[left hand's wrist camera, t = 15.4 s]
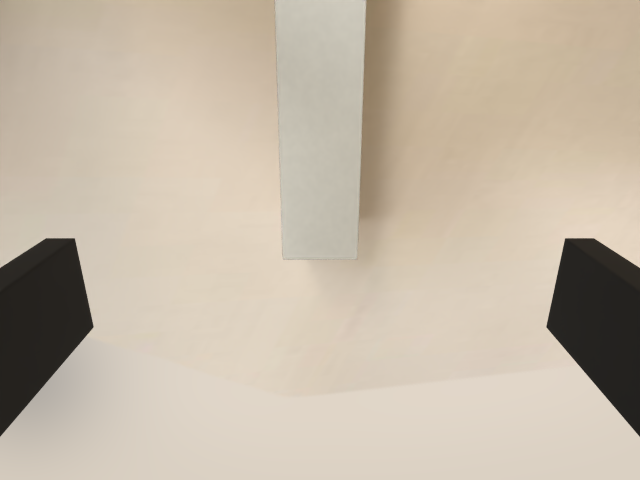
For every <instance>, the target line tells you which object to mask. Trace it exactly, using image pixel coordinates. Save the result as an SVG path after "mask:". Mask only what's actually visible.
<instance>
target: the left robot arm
mask: <svg viewBox="0 0 640 480" xmlns="http://www.w3.org/2000/svg"><path fill="white" fill-rule="evenodd" d="M92 328H93V322H92V317H91V313H90V308H89V303H88V299H87V294H86V289H85V284H84V280H83V275H82V270H81V266H80V261H79V256H78V252H77V247H76V242H75V238H46V239H45V240H43V241H41V242H40V243H38V244H37V245H35V246H34V247H32V248H31V249H29V250H27V251H26V252H24V253H23V254H21V255H20V256H18V257H17V258H15V259H14V260H12V261H10V262H9V263H7V264H6V265H4V266H3V267H1V268H0V436H1V435H2V434H3V433H4V432H5V430H6V429H7V428H8V427H9V426H10V424H11V423H12V422H13V421H14V420H15V419H16V417H17V416H18V415H19V414H20V413H21V412H22V410H23V409H24V408H25V407H26V406H27V405H28V403H29V402H30V401H31V400H32V399H33V398H34V396H35V395H36V394H37V393H38V392H39V391H40V389H41V388H42V387H43V386H44V385H45V383H46V382H47V381H48V380H49V379H50V378H51V376H52V375H53V374H54V373H55V372H56V371H57V369H58V368H59V367H60V366H61V365H62V364H63V362H64V361H65V360H66V359H67V358H68V357H69V355H70V354H71V353H72V352H73V351H74V349H75V348H76V347H77V346H78V345H79V344H80V342H81V341H82V340H83V339H84V338H85V337H86V335H87V334H88V333H89V332H90V331H91V330H92ZM547 328H548V330H549V331H550V332H551V333H552V334H553V335H554V337H555V338H556V339H557V340H558V341H559V342H560V344H561V345H562V346H563V347H564V348H565V349H566V351H567V352H568V353H569V354H570V355H571V357H572V358H573V359H574V360H575V361H576V362H577V364H578V365H579V366H580V367H581V368H582V369H583V371H584V372H585V373H586V374H587V375H588V376H589V378H590V379H591V380H592V381H593V382H594V383H595V385H596V386H597V387H598V388H599V389H600V390H601V392H602V393H603V394H604V395H605V396H606V398H607V399H608V400H609V401H610V402H611V403H612V405H613V406H614V407H615V408H616V409H617V410H618V412H619V413H620V414H621V415H622V416H623V417H624V419H625V420H626V421H627V422H628V423H629V424H630V426H631V427H632V428H633V429H634V430H635V432H636V433H637V434H638V435H639V436H640V268H639V267H637V266H636V265H634V264H633V263H631V262H630V261H628V260H626V259H625V258H623V257H622V256H620V255H619V254H617V253H616V252H614V251H613V250H611V249H609V248H608V247H606V246H605V245H603V244H602V243H600V242H599V241H597V240H595V239H594V238H565V242H564V247H563V252H562V256H561V261H560V266H559V270H558V275H557V280H556V284H555V289H554V294H553V299H552V303H551V308H550V313H549V317H548V322H547Z"/></svg>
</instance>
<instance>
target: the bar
mask: <svg viewBox="0 0 640 480" xmlns="http://www.w3.org/2000/svg"><path fill="white" fill-rule="evenodd" d="M274 1H275V33H276V65H277V96H278V128H279V159H280V191H281V222H282V254H283V259H284V260H357V259H358V235H359V205H360V175H361V146H362V116H363V86H364V57H365V27H366V0H274Z"/></svg>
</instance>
